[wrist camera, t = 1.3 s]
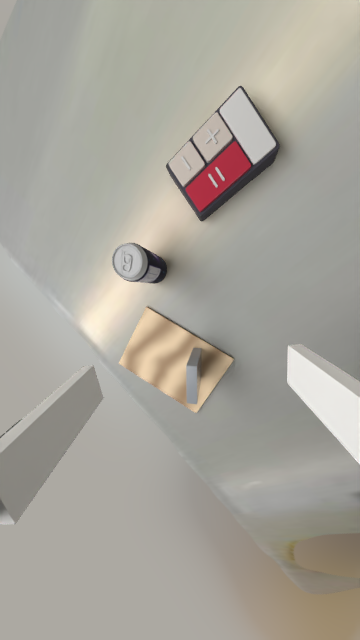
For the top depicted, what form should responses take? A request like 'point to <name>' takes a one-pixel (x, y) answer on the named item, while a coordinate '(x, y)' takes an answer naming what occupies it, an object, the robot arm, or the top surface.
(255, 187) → the top surface
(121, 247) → the beverage can
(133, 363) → the cork mat
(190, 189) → the calculator
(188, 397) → the slate tile
